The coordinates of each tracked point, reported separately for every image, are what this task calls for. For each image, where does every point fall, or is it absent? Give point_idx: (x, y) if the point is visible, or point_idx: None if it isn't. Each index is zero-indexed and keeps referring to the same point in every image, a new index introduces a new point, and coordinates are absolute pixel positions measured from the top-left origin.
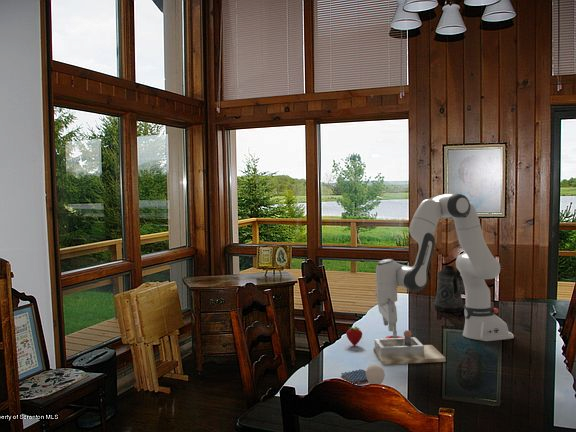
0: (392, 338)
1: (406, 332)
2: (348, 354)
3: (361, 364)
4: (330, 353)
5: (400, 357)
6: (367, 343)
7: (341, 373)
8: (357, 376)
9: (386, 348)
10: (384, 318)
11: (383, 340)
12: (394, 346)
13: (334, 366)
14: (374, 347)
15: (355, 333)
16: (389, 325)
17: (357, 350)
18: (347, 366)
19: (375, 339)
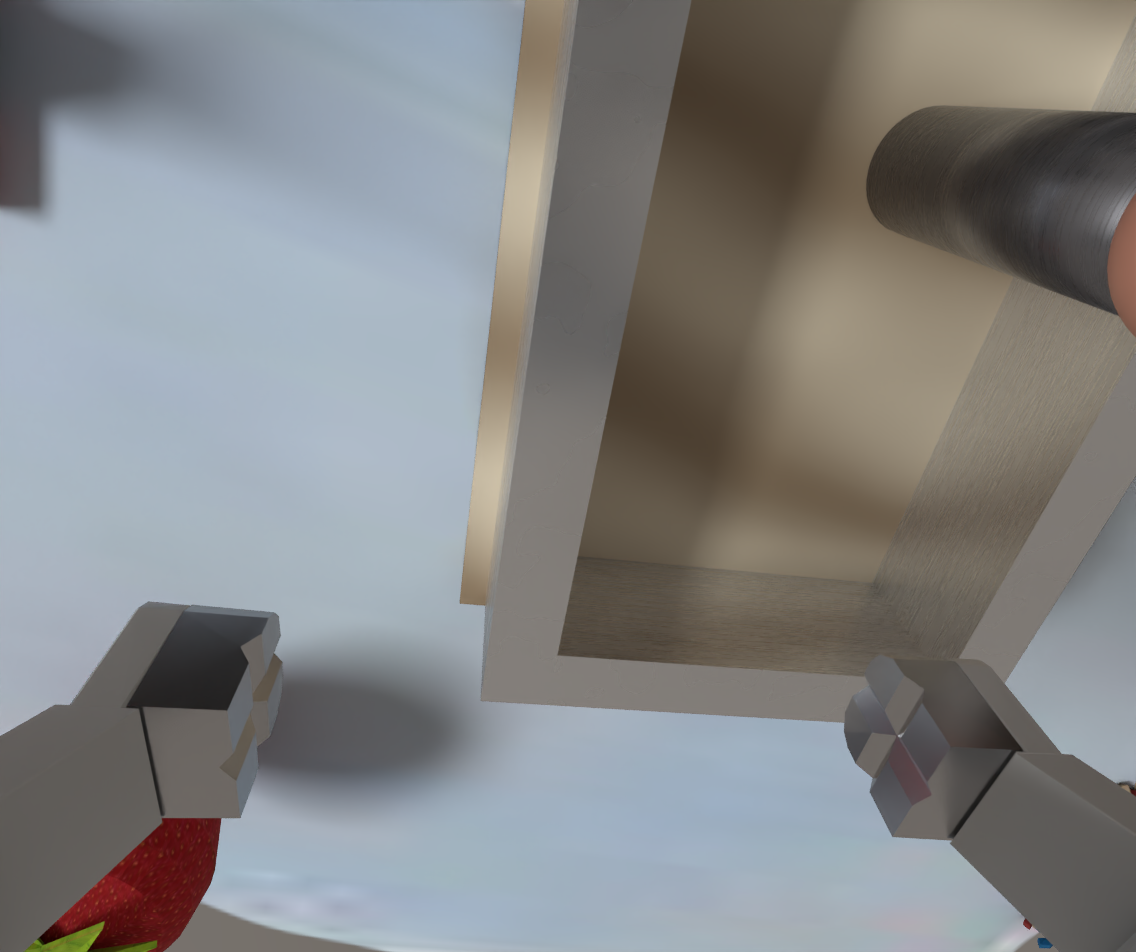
0: (548, 399)
1: None
2: (521, 814)
3: (863, 773)
4: (444, 920)
5: None
6: (76, 555)
7: (1039, 943)
8: None
9: (1010, 656)
10: (43, 893)
11: (568, 575)
12: (1045, 539)
13: (795, 929)
14: (466, 592)
15: (191, 907)
16: (1101, 924)
17: (400, 723)
18: (847, 864)
19: (517, 695)
